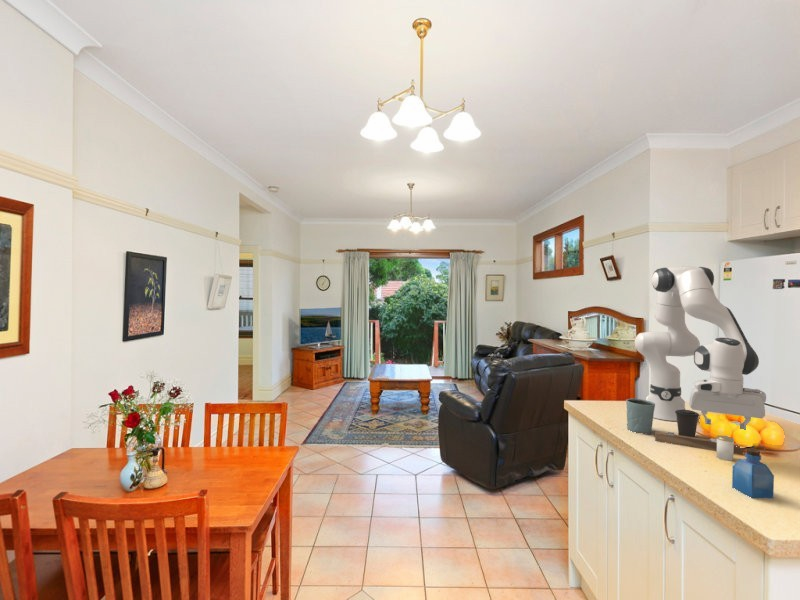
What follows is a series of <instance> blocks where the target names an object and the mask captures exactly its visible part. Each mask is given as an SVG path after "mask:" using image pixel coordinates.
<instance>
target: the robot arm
mask: <svg viewBox="0 0 800 600" xmlns="http://www.w3.org/2000/svg"><path fill="white" fill-rule="evenodd" d="M651 282H652V283H651V285H652V286H653V288H654V290H655V291H656V292H657V296H656V302H655V303H656V305H655V314H654V317H655V319H656V321H657V323H659V324H661V325H662V326H665V327H667V331H646V332H645V331H644V332H638V334H637V335H636V336H635V338H634V346H635V349H636V351H637V352H638V353H640V354H641V355H642V356H643V357H644V358H645V359H646V361H647V362H648V364H649V367H650V372H651V373H650V374H651V375H650V376H651V384H650V386H649V389H650V390H649V392H650V393H649V394H648V395H647V396H646V398H645V400H647V401H651V402H653V403H655V409H654V416H653V419H657V420H663V421H672V422H673V421H674V422H677V416H676V413H675V411H676V410H686V401H685V400H684V399H683V398H682V387H681V371H680V369H679V368H678V367H677V366H675V365H674V364H672V363H670V362H668V361H667V357H682V358H683V357H690V356H693V362H694V364H695V366H696V367H697V368H698V369H699V370H701V371H704V372H711V373H710V377H709V378H705V379H698V380H695V381H694V383H693V384H694V388H693V389H691V392H690V395H689V402H688V403H689V405H688V406H689V408H690V409H692V411H699V412H701V415H702V417H703V418H704V424H705V425H709V426H711V425H712V419H711V418H708V417H707V415H708V412H709V413H716V414H724V415H730V416H731V415H732V416H740V417H743V418H744V420H743V421H744V422H743V423H740V429H744V430H746V425H747V424H748V423H751V421H752V418H756V419H763V418H765V417H766V409H765V408H766V406H765V403H766V401H767V394H766V393H765V392H764V391H762V390H761V389H758V388H754V389H753V388H748V387H744V376H745V375H746V376H747V375H749V374H751V373H753V372H754V371H755V370H756V369H757V368H758V367H759V363H760V361H759V359H760V358H759V357H758V354H757V352H756V351H755V350H754V348H753V347H752V345H751V344H750V342H749V340H748V339H747V338H746V336H745V334H744V332H743V330H742V328H741V326H740V324H739V322H738V321H737V318H736V317H735V315H734V313H733V312H732V310H731V309H730V308H729V307H727V306H725V305H724V304H723V303H722V302H720V300H719V299H718V298H717V296H716V294H715V291H714V288H713V286H714V283H715V275H714V272H713V271H712V270H711V268H709V267H705V266H685V265H684V266H676V267H675V266H672V267H660V268H656V270H654V271H653V274H652V277H651ZM686 314H687V315H689V316H691V317H692V318H695V319H699V320H700V321H701V320H702V321H706V322H708V323H711V324H713V325H715V326H717V327H718V328H720V330H721V331H722V332H723V334H724V337H717V338H714V339H713V340H712V342H710V343H708V344H704V345H702V344H700V340H699V338H698V337H697V336H696V335H695V334H693V333H692V332H691V331H690V330H689V328H688V326H687V324H686ZM743 375H744V376H743Z"/></svg>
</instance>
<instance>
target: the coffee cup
mask: <svg viewBox="0 0 800 600" xmlns="http://www.w3.org/2000/svg"><path fill="white" fill-rule="evenodd" d="M675 413H676V416H677V421H676V422H677V423H676V424H677V432H678V434H677V435H681V436H687V437H694V438H696V433H697V426H698V422H699V417H701V416H700V414H699V413H698V412H697V411H695V410H690V409H685V410H676V411H675Z"/></svg>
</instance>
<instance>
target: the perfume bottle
mask: <svg viewBox="0 0 800 600" xmlns="http://www.w3.org/2000/svg"><path fill="white" fill-rule="evenodd" d="M744 457H745V458H739V459H738V460H737V461H736V462H735V463H734V464H733V465H732V471H731V473H732V475H731V476H732V478H731V479H732V481H731V488H732V489H734V488H735V489H736V491H737V490H738V491H737V492H739V491H740V492H739V493H741V494H743V495H744V496H746V495H747V496H746V497H748V496H749V497H748V498H750V497H751V498H750V499H774V494H775V492H774V490H775V489H774V487H775V483H774V482H775V475H774V474H773V472H772V471H771V469H770V468H769V466H768V464H765V463H763V462H761V461H762V455H761V450H759V449H756V448H754V447H750V448H745V453H744ZM735 489H734V490H735Z"/></svg>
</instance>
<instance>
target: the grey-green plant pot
mask: <svg viewBox="0 0 800 600" xmlns="http://www.w3.org/2000/svg"><path fill="white" fill-rule="evenodd" d="M625 402H626V422H627V423H626V426H627V427H626V428H627V431H629V430H630V432H631V431H632V432H631V433H634V432H636V433H635V434H638V433H643V434H642V435H650V434H652V432H653V431H652V430H653V421H654V418H653V416H654V409H655V403H653V402H651V401H647V400H646V399H641V398H628V399H627V398H626V399H625ZM649 433H650V434H649Z"/></svg>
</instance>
